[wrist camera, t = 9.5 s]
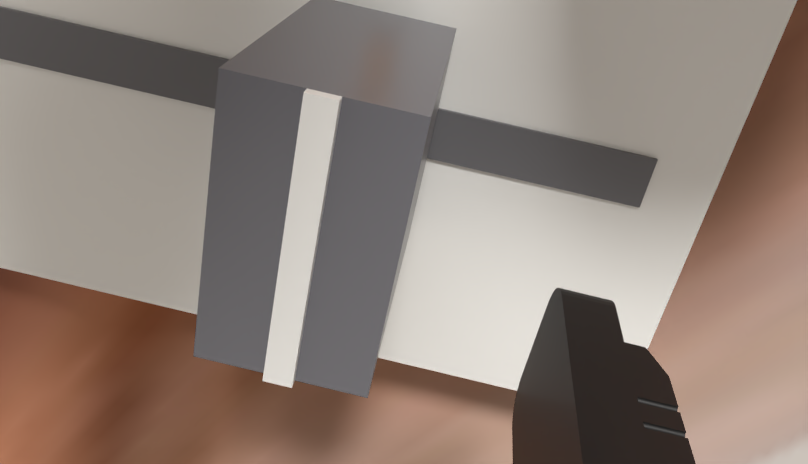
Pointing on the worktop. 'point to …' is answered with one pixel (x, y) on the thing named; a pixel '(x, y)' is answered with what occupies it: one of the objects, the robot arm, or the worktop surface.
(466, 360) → the console board
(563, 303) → the robot arm
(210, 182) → the fader cap
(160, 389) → the worktop surface
